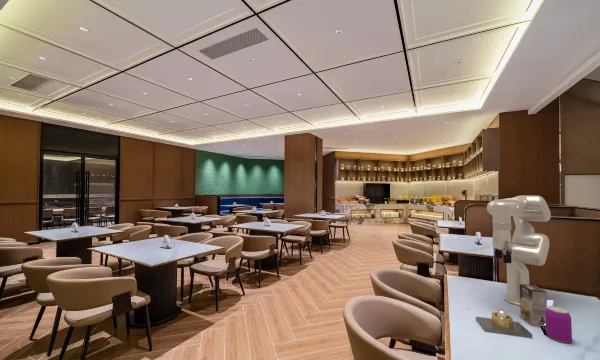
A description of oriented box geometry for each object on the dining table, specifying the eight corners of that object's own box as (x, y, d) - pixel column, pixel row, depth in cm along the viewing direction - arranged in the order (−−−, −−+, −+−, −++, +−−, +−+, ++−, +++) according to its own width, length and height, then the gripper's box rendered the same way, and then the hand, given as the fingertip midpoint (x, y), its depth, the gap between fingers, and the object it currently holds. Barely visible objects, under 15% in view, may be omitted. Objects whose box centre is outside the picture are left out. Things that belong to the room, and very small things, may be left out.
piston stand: (518, 325, 119) (518, 308, 119) (532, 338, 108) (531, 319, 109) (475, 319, 124) (475, 303, 124) (485, 331, 113) (484, 313, 114)
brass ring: (507, 322, 119) (507, 313, 119) (515, 330, 112) (515, 320, 112) (489, 319, 121) (489, 311, 121) (496, 327, 114) (496, 318, 114)
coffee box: (519, 316, 128) (518, 283, 128) (534, 318, 126) (533, 284, 127) (532, 326, 119) (531, 290, 119) (548, 327, 117) (547, 291, 118)
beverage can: (567, 336, 110) (566, 307, 111) (575, 346, 103) (574, 315, 104) (543, 331, 114) (542, 303, 114) (550, 340, 107) (549, 310, 107)
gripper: (486, 224, 143) (487, 255, 142) (501, 228, 126) (502, 264, 126) (502, 224, 141) (503, 256, 140) (519, 229, 124) (520, 265, 124)
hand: (502, 260), depth 133 cm, fingers open, 9 cm apart
